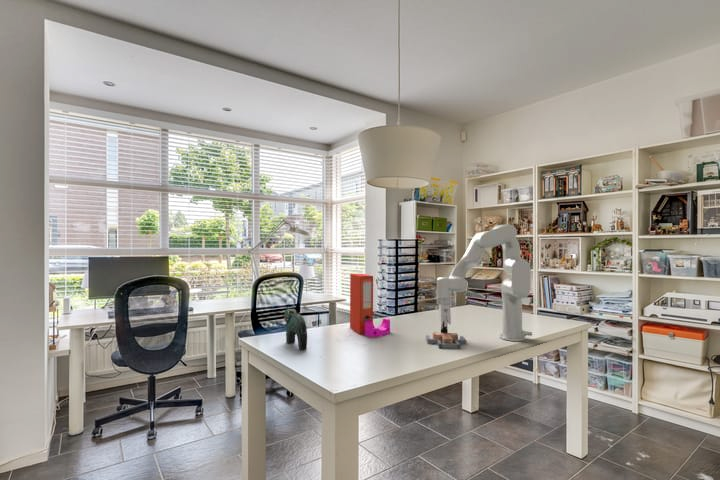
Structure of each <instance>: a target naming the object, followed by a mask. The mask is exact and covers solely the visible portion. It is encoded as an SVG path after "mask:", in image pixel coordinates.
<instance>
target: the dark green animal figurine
mask: <svg viewBox="0 0 720 480" xmlns="http://www.w3.org/2000/svg"><path fill="white" fill-rule="evenodd" d="M292 307H293V308H290V307H288V306H286V309H285V311H284V313H283V314H284V315H283V316H284V317H283V319H284V321H285V323H286V332H285V339H286V340H285V343H287V342H288V343H287V344H293V343H292V342H295V343H296V338H297V344H298V345H297V346H298V350H299V349H300V350H299V351H304V349H306V350H307V349H308V348H307V347H308V346H307V345H308V330H307V324H306V321H305V318H304V317H303V315H301V314H300V313H299V312H297V310H296V305H295V304H292Z"/></svg>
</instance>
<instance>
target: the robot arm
mask: <svg viewBox="0 0 720 480" xmlns="http://www.w3.org/2000/svg"><path fill="white" fill-rule="evenodd" d="M517 233H518V230H517V228H516V227H515V226H514V225H512V224H510V223H509V224H499V225H495V226H493V228H492V229H490V230H487V231H486V230H485V231H479V232H477V233H475V234H474V236H473V237H472V239H471V241H470V243H469V245H468V247H467V249H466V250H465V253H464V254H463V256H462V257H461V258H460V260H459V261H458V262H457V263H456V265H455V266H454V268H453V270H452V271H451V273H450V275H449V277H447V276H440V277H437V279H436V304H437V305H438V320H439V323H440V333H449V332H448V330H449V329H448V324H449V325H451V323H452V321H451V319H452V315H451V305H452V300H453V299H452V292H458V293H461V292H465V291H467V289H468V288H469V282H468V280H466V278H465V277H466V275H467V274H468V273H469V272H470V270H472V269H474V268H475V267H476V266H478V264H479V263H480V261H481V260H482V258H483V256H484V254H485V252H486V251H487V249H491V248H495V247H498V246H500V245H501V247H502V269H503V271H504V273H505V274H507V275H509V276H511V277H507V278H505V279H504V280H503V281H502V283H501V285H500V292H501V297H502V298H501V299H502V333H500V335H499V338H500V339H502V340H505V341H509V342H524V341H526V337H527V336H530V337H531V336H533V332H532V331H527V330H523V301H522V299H526V298H527V297H529V295H530V292H531V288H532V282H531V279H532V277H531V276H532V275H531V274H532V273H531V271H532V270H531V266H530V263H529V262H528V261H527V260H526V259H524V258H523V257H522V256H521V246H520V243H519V240H518V238H517Z"/></svg>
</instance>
